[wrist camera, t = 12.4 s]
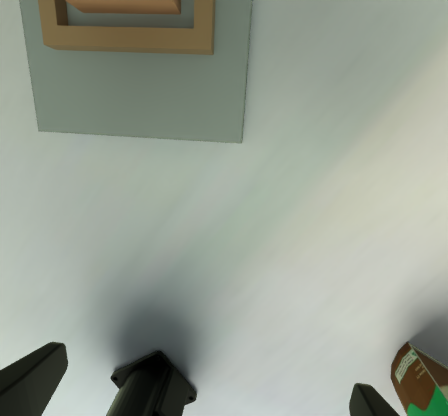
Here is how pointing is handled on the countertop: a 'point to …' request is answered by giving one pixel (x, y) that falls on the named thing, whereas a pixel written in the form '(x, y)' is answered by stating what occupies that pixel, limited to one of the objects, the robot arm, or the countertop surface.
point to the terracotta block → (128, 6)
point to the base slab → (140, 70)
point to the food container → (420, 382)
